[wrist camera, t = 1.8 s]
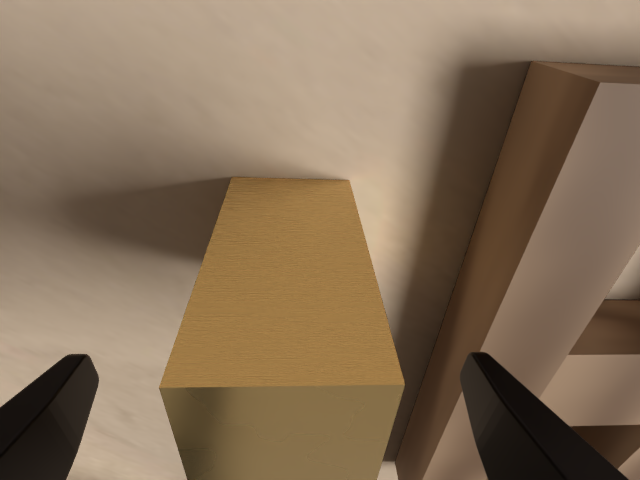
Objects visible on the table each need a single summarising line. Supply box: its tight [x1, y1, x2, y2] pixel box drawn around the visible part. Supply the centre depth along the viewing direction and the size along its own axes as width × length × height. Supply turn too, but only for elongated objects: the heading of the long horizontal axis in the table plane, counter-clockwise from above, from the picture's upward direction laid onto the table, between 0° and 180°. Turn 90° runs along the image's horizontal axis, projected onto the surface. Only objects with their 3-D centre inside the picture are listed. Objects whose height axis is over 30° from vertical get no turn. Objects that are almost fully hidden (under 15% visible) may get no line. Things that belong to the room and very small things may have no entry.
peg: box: [159, 177, 405, 480], centre depth 10 cm, size 4×4×8 cm
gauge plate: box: [395, 61, 640, 480], centre depth 16 cm, size 14×24×6 cm, turn 177°
